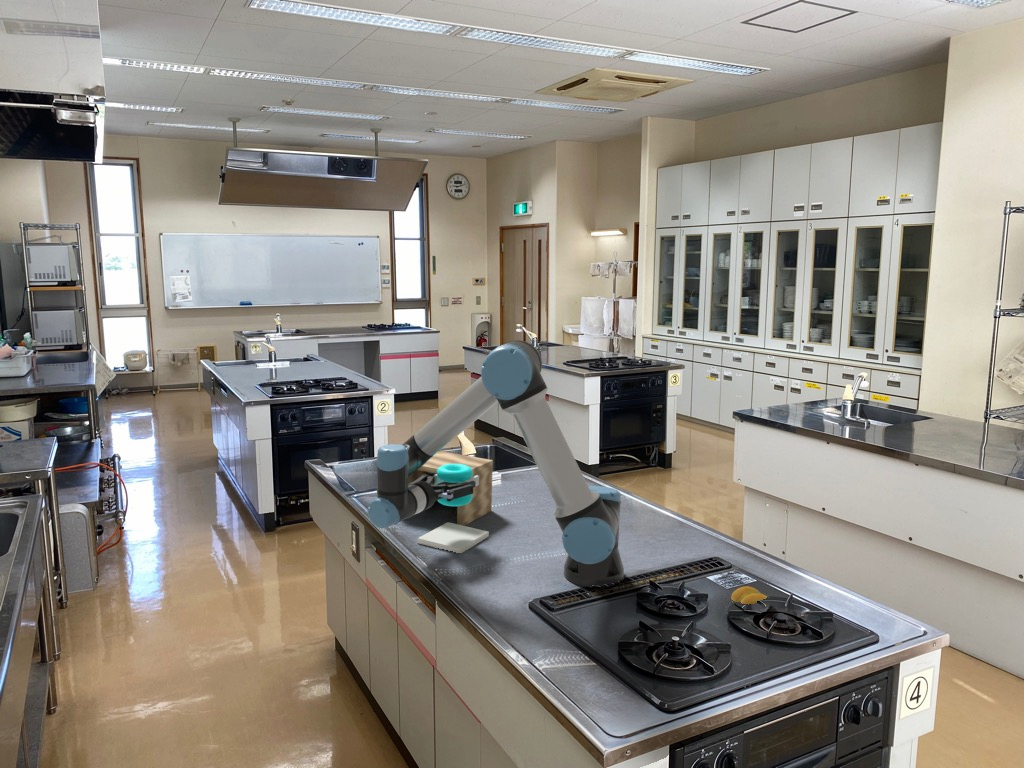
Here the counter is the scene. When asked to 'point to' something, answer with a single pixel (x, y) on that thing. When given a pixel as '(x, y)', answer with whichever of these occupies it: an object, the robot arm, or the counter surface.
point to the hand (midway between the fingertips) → (462, 477)
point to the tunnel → (481, 493)
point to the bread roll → (747, 595)
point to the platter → (453, 537)
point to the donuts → (455, 481)
